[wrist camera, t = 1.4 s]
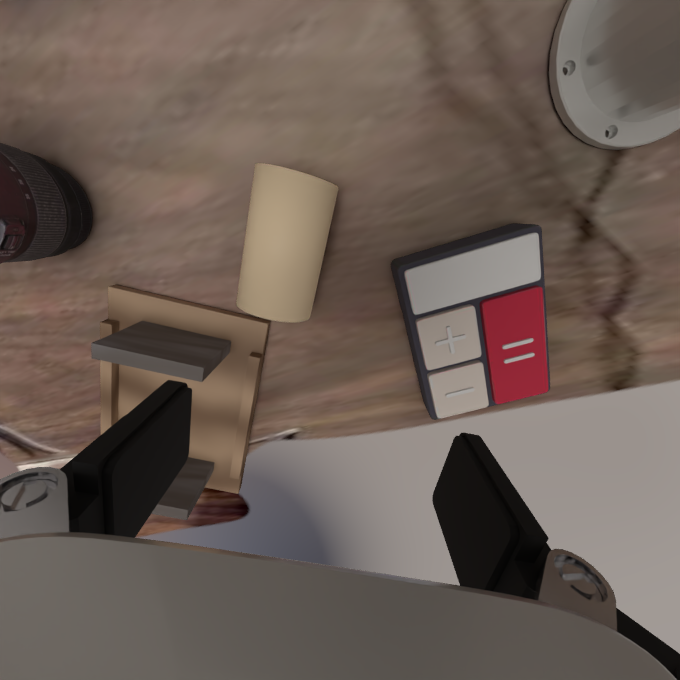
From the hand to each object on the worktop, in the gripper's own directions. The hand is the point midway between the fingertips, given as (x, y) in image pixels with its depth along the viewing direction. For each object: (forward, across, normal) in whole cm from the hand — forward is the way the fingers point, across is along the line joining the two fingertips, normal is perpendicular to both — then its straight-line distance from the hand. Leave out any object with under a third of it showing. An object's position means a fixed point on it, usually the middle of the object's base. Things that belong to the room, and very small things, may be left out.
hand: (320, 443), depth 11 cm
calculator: (+19, -12, -1) cm, 23 cm away
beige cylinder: (+16, +5, -5) cm, 17 cm away
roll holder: (+19, +13, +12) cm, 26 cm away
